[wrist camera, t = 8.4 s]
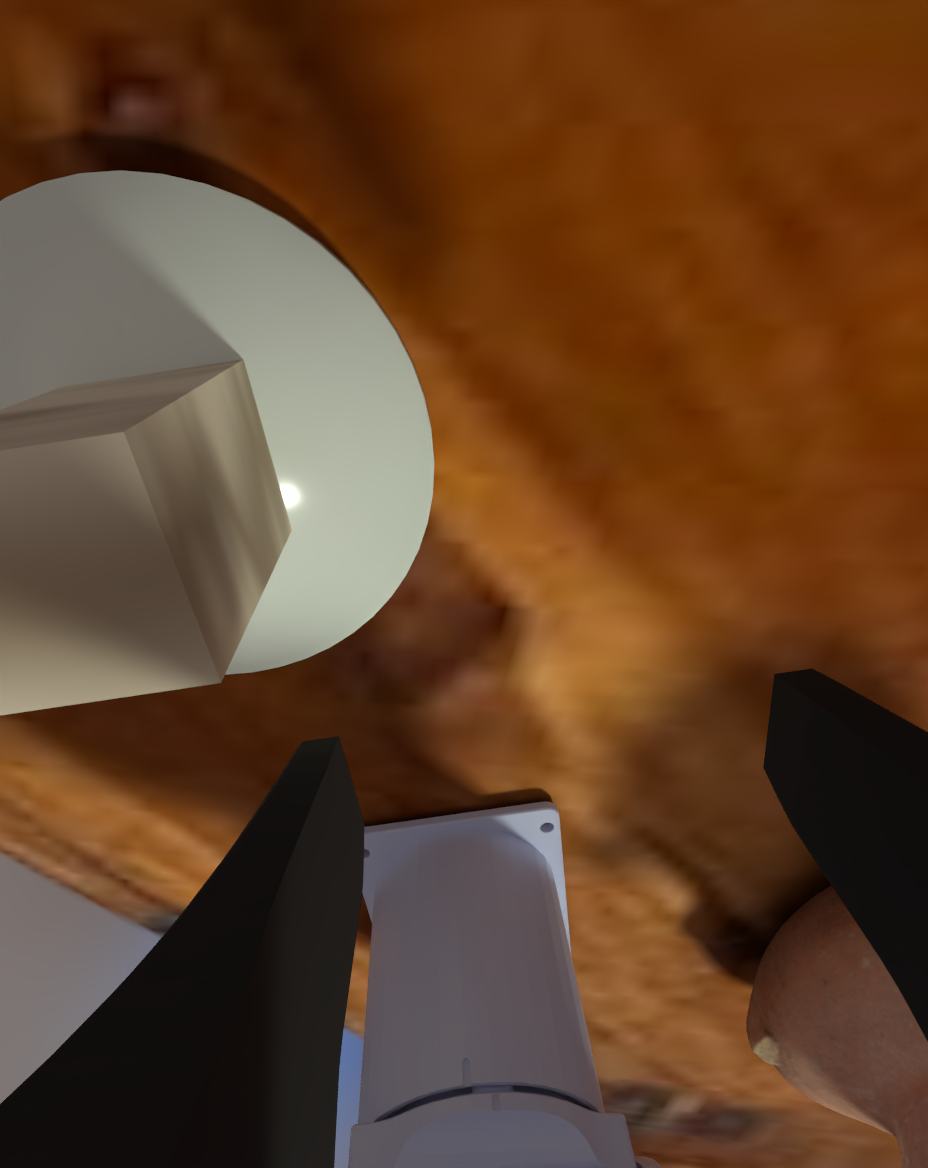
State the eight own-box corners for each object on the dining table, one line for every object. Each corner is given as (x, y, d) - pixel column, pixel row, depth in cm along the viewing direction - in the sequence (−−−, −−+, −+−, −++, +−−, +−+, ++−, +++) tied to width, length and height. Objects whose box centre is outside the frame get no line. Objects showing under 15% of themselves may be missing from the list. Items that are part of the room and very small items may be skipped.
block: (292, 529, 17) (220, 682, 11) (130, 554, 18) (-29, 719, 11) (243, 359, 15) (123, 431, 9) (60, 387, 15) (-183, 478, 9)
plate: (462, 624, 20) (464, 641, 19) (61, 683, 20) (44, 702, 20) (386, 135, 14) (383, 128, 13) (-183, 220, 14) (-222, 218, 14)
